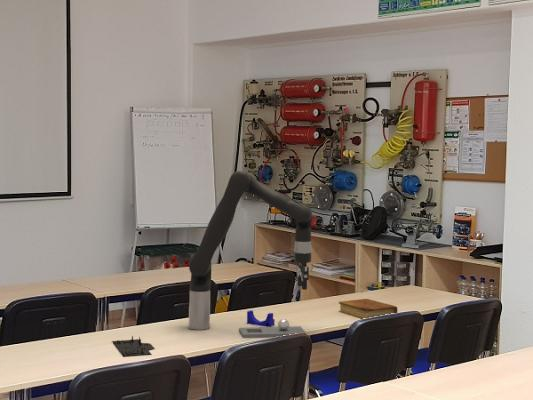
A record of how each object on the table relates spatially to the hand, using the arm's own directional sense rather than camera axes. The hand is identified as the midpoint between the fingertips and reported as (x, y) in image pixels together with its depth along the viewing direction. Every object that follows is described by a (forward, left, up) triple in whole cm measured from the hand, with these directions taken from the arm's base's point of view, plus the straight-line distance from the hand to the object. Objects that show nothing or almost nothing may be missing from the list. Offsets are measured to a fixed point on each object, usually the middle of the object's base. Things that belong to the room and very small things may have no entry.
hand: (302, 287), depth 368 cm
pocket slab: (-13, 0, -20) cm, 24 cm away
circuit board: (-73, -19, -21) cm, 79 cm away
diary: (+41, +36, -21) cm, 58 cm away
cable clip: (-15, +18, -21) cm, 32 cm away
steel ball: (-8, 0, -16) cm, 18 cm away
